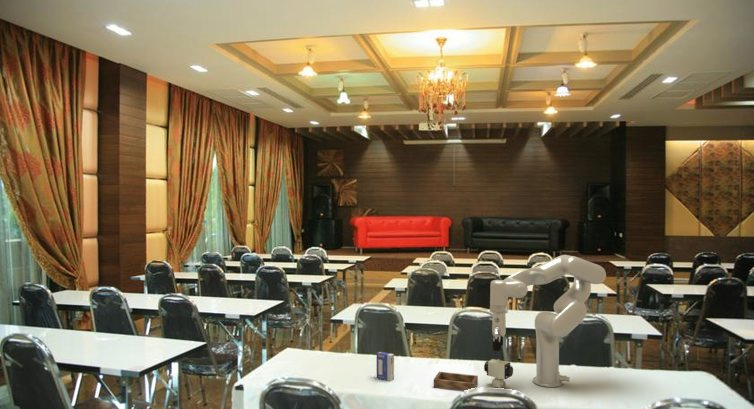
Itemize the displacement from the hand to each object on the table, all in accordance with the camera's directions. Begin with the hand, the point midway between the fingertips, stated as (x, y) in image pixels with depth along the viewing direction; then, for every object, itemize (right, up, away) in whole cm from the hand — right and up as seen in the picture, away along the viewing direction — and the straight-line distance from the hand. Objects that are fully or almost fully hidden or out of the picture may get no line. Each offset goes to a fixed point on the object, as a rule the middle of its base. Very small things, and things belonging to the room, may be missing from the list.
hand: (498, 347), depth 233 cm
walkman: (-49, -17, +10) cm, 53 cm away
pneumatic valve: (0, -17, 0) cm, 17 cm away
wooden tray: (-18, -17, +1) cm, 25 cm away
